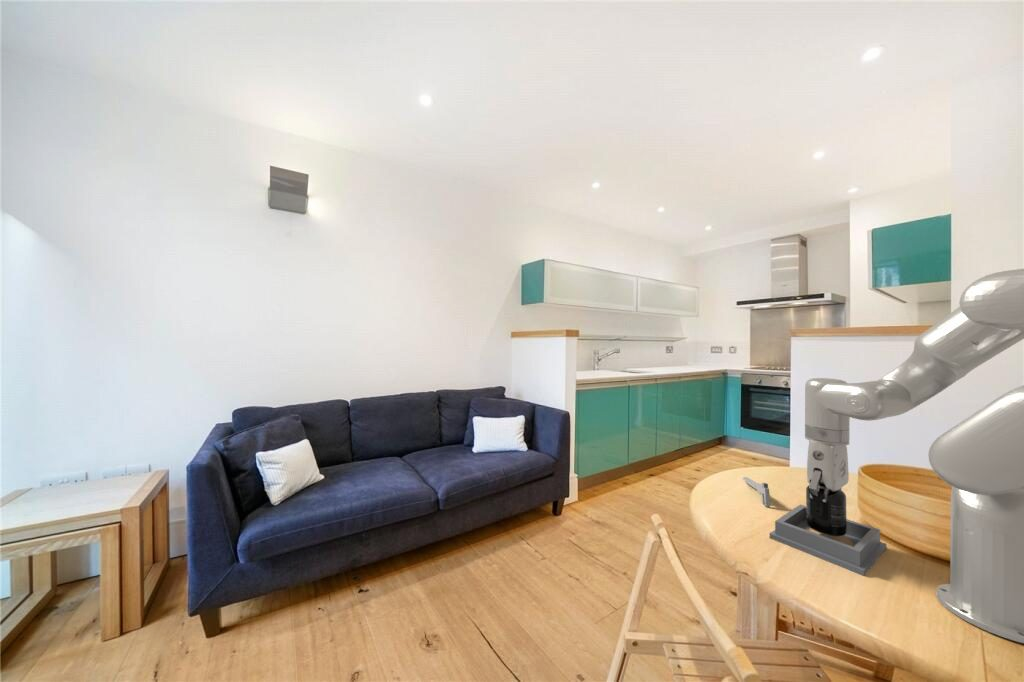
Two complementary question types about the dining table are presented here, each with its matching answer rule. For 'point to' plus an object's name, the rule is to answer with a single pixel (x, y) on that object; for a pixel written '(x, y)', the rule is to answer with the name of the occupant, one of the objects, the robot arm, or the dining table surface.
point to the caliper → (760, 490)
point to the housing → (831, 541)
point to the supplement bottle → (836, 514)
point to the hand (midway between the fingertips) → (825, 512)
